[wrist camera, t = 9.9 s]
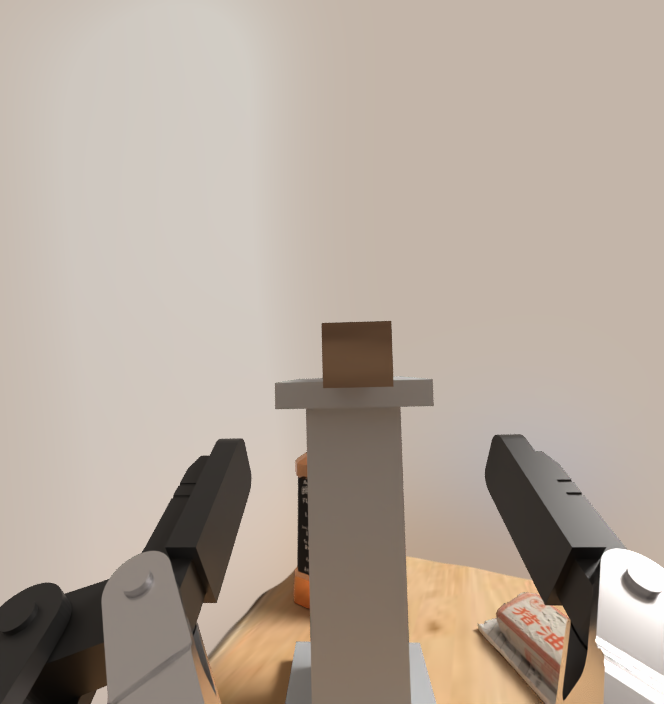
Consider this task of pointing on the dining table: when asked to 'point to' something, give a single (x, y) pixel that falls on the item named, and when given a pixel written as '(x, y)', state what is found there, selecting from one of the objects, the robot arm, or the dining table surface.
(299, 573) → the whiskey bottle
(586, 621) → the robot arm
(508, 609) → the packaged product
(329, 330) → the lever bar
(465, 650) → the dining table surface
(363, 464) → the grey stand
